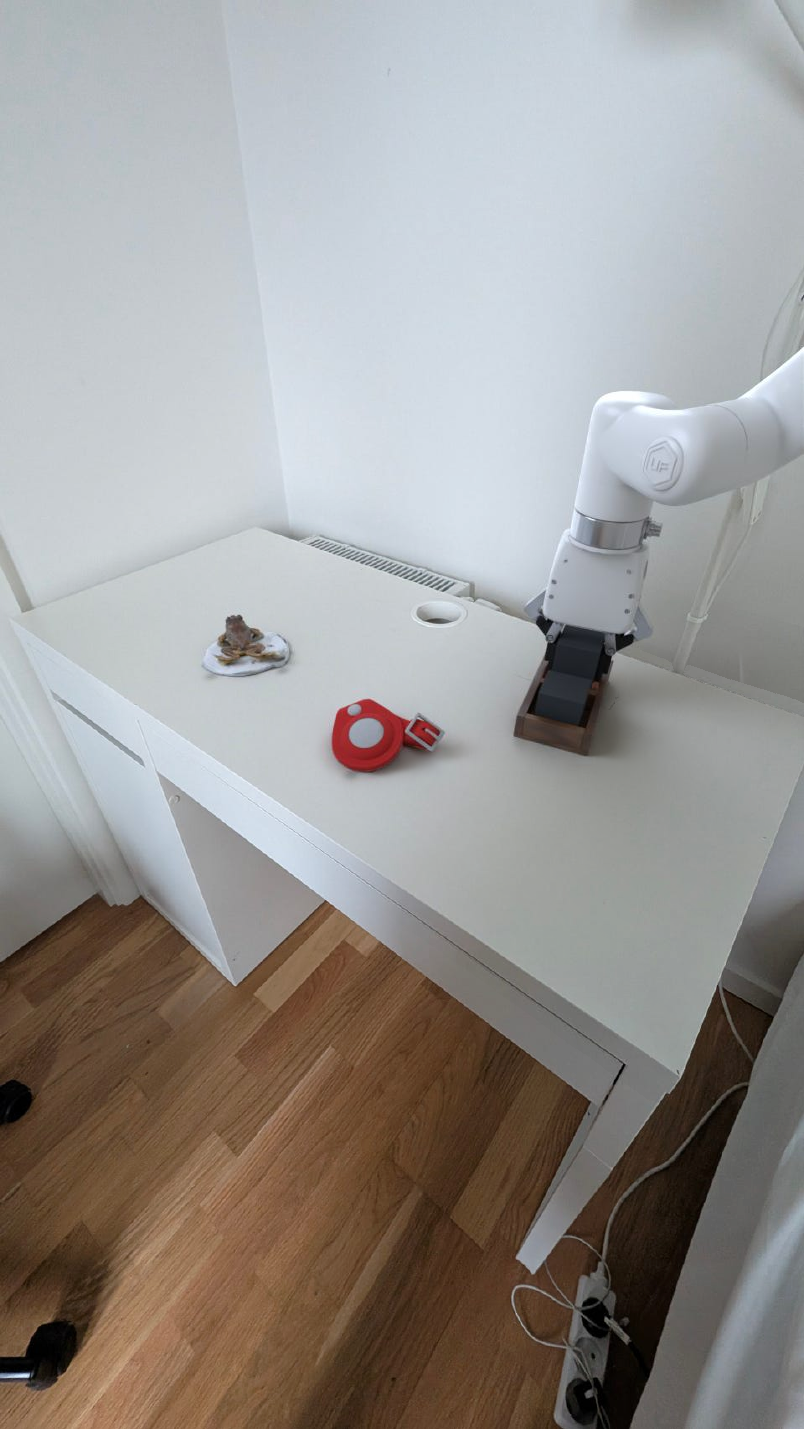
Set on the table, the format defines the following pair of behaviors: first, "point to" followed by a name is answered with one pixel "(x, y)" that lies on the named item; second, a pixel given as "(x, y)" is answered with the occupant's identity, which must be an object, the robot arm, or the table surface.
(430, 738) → the tracker holder
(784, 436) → the robot arm
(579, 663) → the dark grey block
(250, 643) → the frog figurine
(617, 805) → the table surface
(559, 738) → the frame
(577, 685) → the dark grey cube
